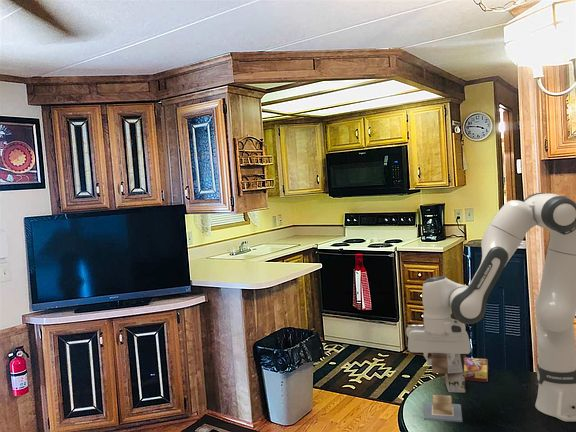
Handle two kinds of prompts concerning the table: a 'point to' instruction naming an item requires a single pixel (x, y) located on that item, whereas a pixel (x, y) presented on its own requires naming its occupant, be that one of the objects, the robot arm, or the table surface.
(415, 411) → the table surface
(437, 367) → the walnut cube
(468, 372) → the candy box
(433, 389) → the table surface
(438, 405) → the oak block
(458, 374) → the coffee box
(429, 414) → the plate
